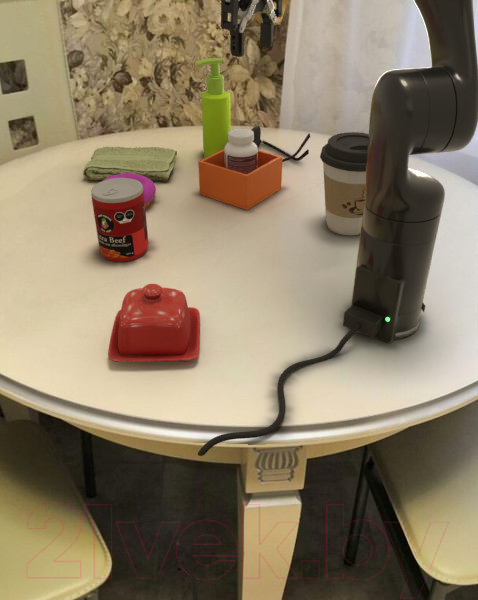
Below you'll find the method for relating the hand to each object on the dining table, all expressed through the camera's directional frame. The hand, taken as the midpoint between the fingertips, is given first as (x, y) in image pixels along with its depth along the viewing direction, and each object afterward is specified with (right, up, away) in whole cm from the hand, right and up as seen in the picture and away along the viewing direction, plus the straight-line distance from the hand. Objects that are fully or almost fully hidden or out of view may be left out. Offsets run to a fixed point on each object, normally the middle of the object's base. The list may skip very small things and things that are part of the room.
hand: (252, 51), depth 105 cm
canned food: (-21, -34, -4) cm, 40 cm away
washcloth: (-24, -16, +22) cm, 36 cm away
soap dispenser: (-7, -11, +28) cm, 31 cm away
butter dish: (-13, -48, -23) cm, 55 cm away
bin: (-2, -21, +14) cm, 26 cm away
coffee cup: (+16, -30, +2) cm, 34 cm away
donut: (-23, -24, +10) cm, 35 cm away
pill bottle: (-2, -21, +13) cm, 25 cm away
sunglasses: (+6, -13, +26) cm, 30 cm away
